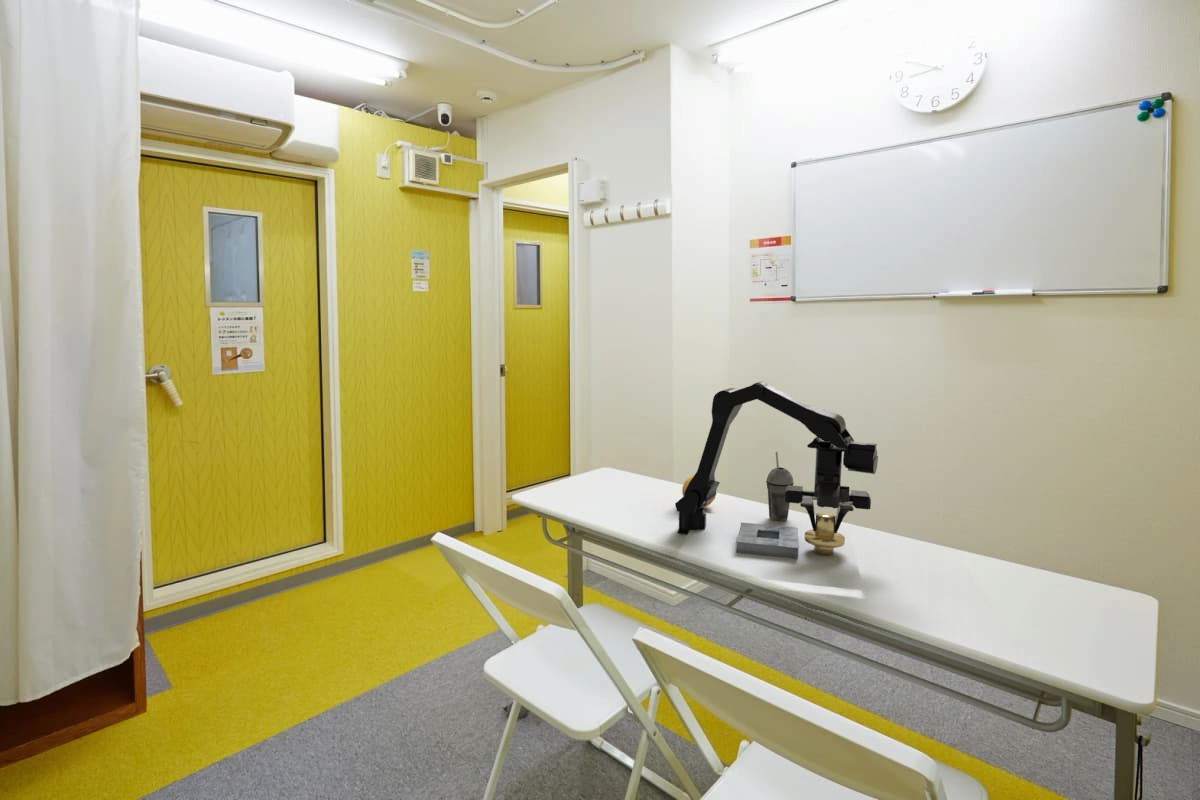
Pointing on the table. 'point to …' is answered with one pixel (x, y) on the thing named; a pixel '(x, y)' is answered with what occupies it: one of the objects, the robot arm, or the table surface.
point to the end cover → (824, 535)
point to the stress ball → (686, 487)
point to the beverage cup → (778, 492)
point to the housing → (768, 540)
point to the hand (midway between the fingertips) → (824, 531)
